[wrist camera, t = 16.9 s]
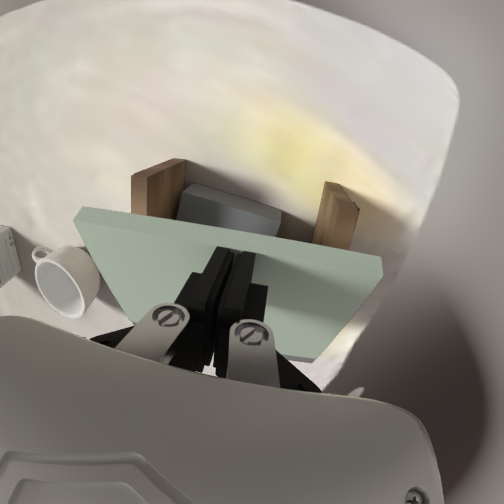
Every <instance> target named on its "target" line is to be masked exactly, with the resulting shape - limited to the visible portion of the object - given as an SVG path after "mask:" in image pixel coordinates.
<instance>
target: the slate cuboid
mask: <svg viewBox="0 0 504 504" xmlns="http://www.w3.org/2000/svg"><path fill="white" fill-rule="evenodd" d="M281 215H282V210H280V209H277V208H274V207H271V206H268V205H265V204H262V203H259V202H256V201H253V200H250V199H246V198H243V197H240V196H237V195H234V194H231V193H227V192H224V191H221V190H218V189H214V188H211V187H208V186H204V185H201V184H197V183H193V184H192V185H191V186H189V187H188V188H186V189H185V190H184V191H182V195H181V199H180V204H179V209H178V214H177V219H176V220H177V221H183V222H189V223H195V224H201V225H208V226H214V227H220V228H226V229H231V230H237V231H243V232H249V233H255V234H261V235H266V236H272V237H276V235H277V232H278V229H279V227H280V224H281Z"/></svg>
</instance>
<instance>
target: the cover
mask: <svg viewBox="0 0 504 504" xmlns="http://www.w3.org/2000/svg"><path fill="white" fill-rule="evenodd" d="M73 221H74V223H75V226H76V228H77V230H78V232H79V234H80V236H81V238H82V240H83V242H84V244H85V245H86V247H87V249H88V251H89V253H90V255H91V257H92V259H93V260H94V262H95V264H96V266H97V268H98V269H99V271H100V273H101V275H102V276H103V278H104V280H105V282H106V283H107V285H108V287H109V288H110V290H111V292H112V293H113V295H114V297H115V298H116V300H117V301H118V303H119V305H120V306H121V308H122V309H123V311H124V312H125V314H126V315H127V317H128V319H129V320H130V321H132V323H133V324H134V326H135V325H136V324H137V323H138V322H139V321H140V320H141V319H142V318H143V317H144V316H145V315H146V314H147V313H148V311H149V310H150V309H152V308H153V307H154V306H156V305H159V304H163V303H174V302H175V300H176V298H177V297H178V295H179V293H180V292H181V290H182V288H183V286H184V285H185V283H186V281H187V280H188V278H189V276H190V275H191V273H192V272H197V273H203V271H204V269H205V267H206V265H207V263H208V261H209V260H210V258H211V256H212V254H213V252H214V250H215V249H216V247H217V246H218V247H224V248H229V249H230V250H229V252H233V253H234V259H233V264H234V262H235V259H236V256H237V254H242V253H243V251H246V252H252V253H256V256H255V263H254V269H253V275H252V282H251V283H255V284H261V285H267V286H268V293H267V301H266V308H265V315H264V322H263V323H265V324H266V325H268V326H269V327H270V328H271V330H272V332H273V334H274V341H275V349H276V350H277V351H278V352H279V353H280V354H281V355H282V356H284V357H285V358H286V359H287V360H292V361H299V362H307V363H312V362H313V361H314V360H315V359H317V358H318V357H319V356H320V355H321V353H322V352H323V351H324V350H325V349H326V348H327V347H328V345H329V344H330V343H331V342H332V341H333V340H334V338H335V337H336V336H337V335H338V334H339V332H340V331H341V330H342V329H343V328H344V326H345V325H346V324H347V323H348V321H349V320H350V319H351V318H352V317H353V315H354V314H355V313H356V311H357V310H358V309H359V308H360V306H361V305H362V304H363V302H364V301H365V300H366V299H367V297H368V296H369V295H370V293H371V292H372V291H373V289H374V288H375V286H376V285H377V284H378V282H379V281H380V280H381V278H382V277H383V275H384V274H383V266H382V259H381V257H379V256H374V255H369V254H364V253H359V252H354V251H348V250H343V249H338V248H333V247H327V246H322V245H316V244H311V243H305V242H300V241H294V240H289V239H283V238H278V237H272V236H266V235H261V234H255V233H249V232H243V231H237V230H231V229H226V228H220V227H214V226H208V225H201V224H195V223H189V222H183V221H177V220H170V219H164V218H158V217H151V216H145V215H138V214H132V213H125V212H118V211H112V210H105V209H98V208H91V207H84V206H83V207H82V208H81V210H80V211H79V213H78V214H77V215H76V217H75V218H74V220H73Z"/></svg>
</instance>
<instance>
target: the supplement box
mask: <svg viewBox="0 0 504 504" xmlns="http://www.w3.org/2000/svg"><path fill="white" fill-rule="evenodd" d="M20 271H21V266H20V262H19V259H18V255H17V251H16V247H15V242H14V238H13V234H12V230H11V227H6V226H0V288H1V287H2V286H3V285H4V284H6V283H7V282H8V281H9V280H10V279H11V278H13V277H14V276H15V275H16V274H18V273H19V272H20Z"/></svg>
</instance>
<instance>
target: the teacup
mask: <svg viewBox="0 0 504 504" xmlns="http://www.w3.org/2000/svg"><path fill="white" fill-rule="evenodd" d="M38 251H44V252H46V253H47V254H49V255H47V256H45V257H44V258H38V257H36V256H35V253H36V252H38ZM32 258H33V260H34V261H35V262H36V263H37V264H36V267H35V279H36V283H37V286H38V288H39V290H40V292H41V294H42V296H43V297H44V299H45V300H46V301H47V303H48V304H49V305H50V306H51V307H52V308H53V309H54V310H55V311H57V312H58V313H59V314H61V315H63V316H65V317H67V318H70V319H78V318H80V317H82V316H83V314H84V313H85V312H86V310H87V309H88V308H89V306H90V305H91V303H92V302H93V300H94V299H95V297H96V295H97V293H98V291H99V287H100V274H99V270H98V268H97V266H96V264H95V262H94V260H93V259H92V257H91V256H90V255H89V254H88V253H86V252H85V251H84V250H82V249H80V248H77V247H72V246H69V247H63V248H60V249H57V250H55V251H53V250H51V249H48V248H46V247H41V246H39V247H36V248H35V249H34V250H33V252H32Z"/></svg>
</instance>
